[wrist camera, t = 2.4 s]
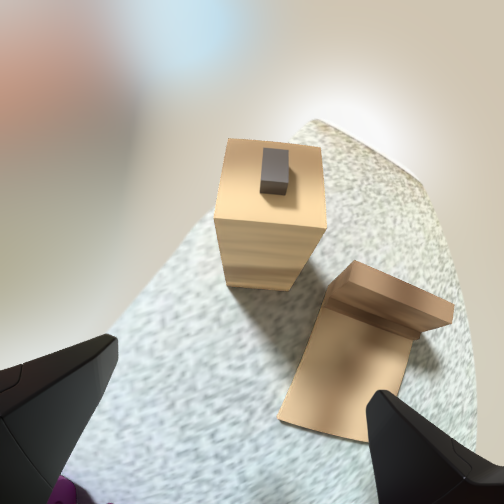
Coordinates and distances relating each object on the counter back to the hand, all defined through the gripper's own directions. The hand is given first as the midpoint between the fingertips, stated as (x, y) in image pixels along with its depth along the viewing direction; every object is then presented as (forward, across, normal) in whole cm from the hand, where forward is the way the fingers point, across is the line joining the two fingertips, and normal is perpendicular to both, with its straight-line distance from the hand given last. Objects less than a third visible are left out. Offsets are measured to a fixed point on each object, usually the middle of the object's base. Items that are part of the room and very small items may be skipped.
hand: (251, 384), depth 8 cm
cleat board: (+10, -10, +6) cm, 15 cm away
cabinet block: (+16, -1, 0) cm, 16 cm away
